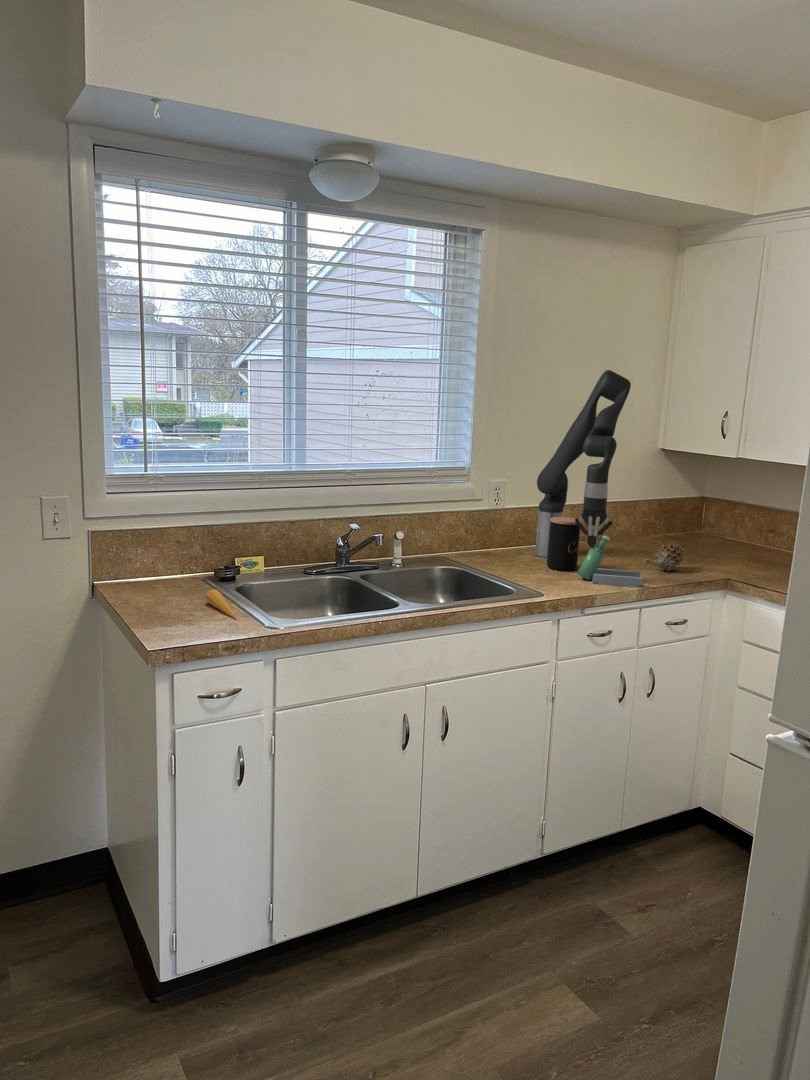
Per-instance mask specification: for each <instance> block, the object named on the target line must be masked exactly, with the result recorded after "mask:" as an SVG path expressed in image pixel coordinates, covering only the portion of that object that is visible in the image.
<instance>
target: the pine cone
mask: <svg viewBox="0 0 810 1080" xmlns="http://www.w3.org/2000/svg"><path fill="white" fill-rule="evenodd" d="M659 546H660V548H659V549H657V550H656V551H657V552H655V554H653V560H651V559H650V558H646V557H645V558H644V559H643V563H645V564H649V565H652V566H653V565H654V566H657V567H658V570H659V571H661V572H664V571H666V570H667V571H666V572H668V571H669V572H670V570H674V569H677V566H680V565H681V564H682V562H683V561H684V559H685V550H684V548H682V545H679V543H676V544H674V543H672V542H670V543H668V542H667V543H666V544H665V543H663V545H659Z"/></svg>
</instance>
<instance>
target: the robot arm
mask: <svg viewBox="0 0 810 1080" xmlns="http://www.w3.org/2000/svg"><path fill="white" fill-rule="evenodd" d="M631 384H632V383H631V380H629V379H628V378H627V377H624V376H623V375H620V374H618V373H616V372H615V371H613V370H610V369H607V370H604V371H603V373H602V374H601V375H600V376H599V378H598V380H597V382H596V384H595V385H594V388H593V389H592V391H591V392H590V394H589V397H588V399H587V400H586V402H585V403H584V406H583V408H582V409H581V411H580V412H579V414H578V415H577V417H576V418H575V420H574V421H573V422H572V425H571V426H570V427H569V429H568V431H567V432H566V434H565V436H564V437H563V440H562V441H561V443H560V445H559V446H558V448H557V449H556V451H555V453H554V454H553V455H552V457H551V458H550V460H549V461H548V462H547V464H546V465H545V466H544V467H543V469H542V470H541V472H540V473H539V474H538V477H537V480H536V486H537V490H538V491H539V492H540V493H542V494H544V496H543V498H542V500H541V501H540V502H539V504H538V515H537V526H536V528H537V529H536V541H535V551H534V552H535V554H534V555H535V556H538V557H544V558H547V555H548V542H549V529H550V524H551V521H550V518H552V517H564V515H563V514H564V507H565V505H566V503H567V496H568V495H567V494H568V488H569V487H568V486H569V480H568V475H567V474H566V471H567V469H568V468H569V467H570V466H571V465H572V464H573V463H574V462H575V461H576V460H577V459H578V458H579V457H580V456H581V455H583V454H585V455H586V456H587V457H593V458H603V460H602V462H600V463H592V464H589V465H587V468H586V478H585V479H586V481H585V487H584V492H583V494H584V495H583V506H582V507H583V508H582V512H581V513H580V515H579V516H578V517H574V518H575V522H576V523H577V525H578V526H579V527H580V531H581V532H582V533H583V534H584V535H587V540H586V541H587V542H586V543H587V546H588V547H589V548H591V547H594V546H597V538H598V536H601V535H602V534H604V533H605V532H607V530H608V529H609V528H610V527H611V526H612V525H613V521H612V519H610V518H609V517H608V514H607V505H608V504H607V502H608V494H609V493H608V492H609V491H608V490H609V487H608V486H609V485H608V483H609V474H610V472H609V471H610V467H611V463H612V460H613V458H614V456H615V453H616V450H617V447H618V444H617V441H616V439H615V438H614V437H613V436H614V435H615V431H616V427H617V422H618V419H619V417H620V414H621V412H622V410H623V407H624V405H625V403H626V401H627V398H628V396H629V393H630V390H631V387H632V386H631ZM601 397H602V398H605V399H606V400H608V401H610V402H613V403H612V404H611V405H608V406H606V407H605V408H603V409H602V410H600V411H599V413H598V414H597V408H598V403H599V400H600V398H601ZM583 522H585V524H586V526H587V529H586V528H585V526H584V524H583ZM603 523H604V525H603ZM601 525H603V526H602V527H601V528H600V529H599V526H601Z"/></svg>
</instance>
